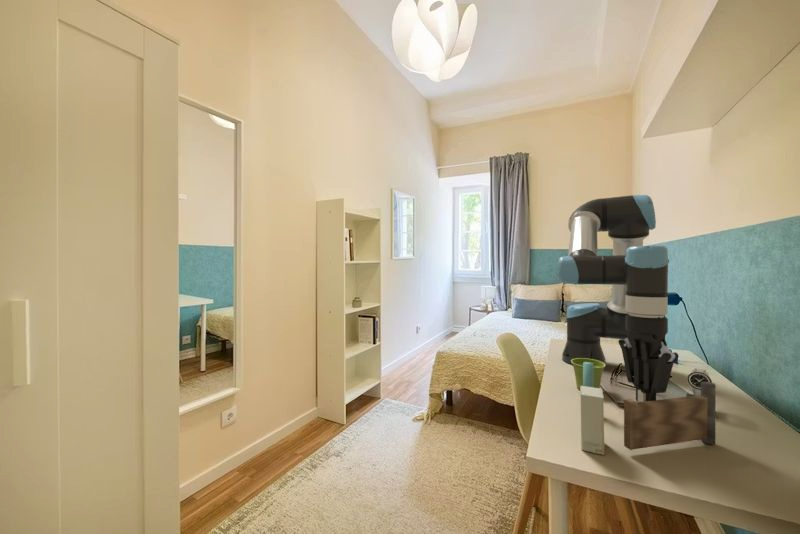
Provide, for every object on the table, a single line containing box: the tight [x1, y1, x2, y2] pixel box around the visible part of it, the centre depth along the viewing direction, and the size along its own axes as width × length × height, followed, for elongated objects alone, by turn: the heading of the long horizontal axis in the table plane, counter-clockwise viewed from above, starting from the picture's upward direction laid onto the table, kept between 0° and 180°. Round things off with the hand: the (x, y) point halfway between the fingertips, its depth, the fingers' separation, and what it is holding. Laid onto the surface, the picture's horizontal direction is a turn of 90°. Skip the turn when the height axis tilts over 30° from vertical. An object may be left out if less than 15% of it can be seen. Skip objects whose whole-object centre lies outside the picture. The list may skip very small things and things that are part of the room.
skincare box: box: [579, 386, 605, 456], centre depth 71 cm, size 6×4×12 cm
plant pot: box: [571, 358, 607, 390], centre depth 102 cm, size 9×9×9 cm
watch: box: [685, 367, 715, 397], centre depth 87 cm, size 6×8×11 cm
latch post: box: [583, 362, 593, 387], centre depth 87 cm, size 2×2×13 cm
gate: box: [623, 382, 717, 451], centre depth 70 cm, size 22×2×13 cm, turn 101°
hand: (645, 419), depth 72 cm, fingers closed
